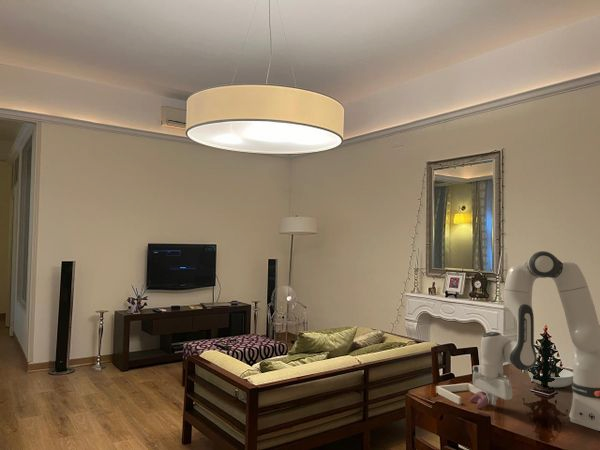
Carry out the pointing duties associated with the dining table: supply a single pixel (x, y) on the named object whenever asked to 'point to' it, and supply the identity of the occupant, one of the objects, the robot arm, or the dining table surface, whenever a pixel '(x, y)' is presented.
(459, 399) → the cream bay
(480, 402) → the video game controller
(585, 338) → the robot arm
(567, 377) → the serving bowl
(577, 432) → the dining table surface
